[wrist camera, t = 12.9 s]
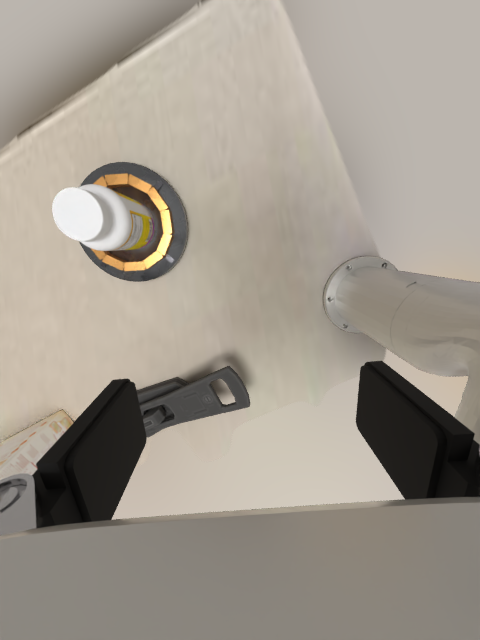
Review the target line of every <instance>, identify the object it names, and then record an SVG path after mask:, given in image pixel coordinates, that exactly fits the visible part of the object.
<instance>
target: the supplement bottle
mask: <svg viewBox="0 0 480 640" xmlns="http://www.w3.org/2000/svg"><path fill="white" fill-rule="evenodd" d="M52 213H53V218H54V221H55V223H56V224H57V226H58V228H59V229H60V230H61V231H62V232H63V233H64V234H65V235H66V236H68V237H70V238H72V239H74V240H77V241H80V242H81V243H82V244H84V245H85V246H87V247H89V248H92V249H94V250H99V251H114V250H135V249H141V248H143V247H145V246H146V245H148V244H149V243H150V242H151V240H152V238H153V236H154V233H155V223H154V219H153V216H152V214H151V213H150V211H149V210H148V209H147V208H146V207H145V206H144V205H143V204H141V203H140V202H138V201H136V200H133V199H131V198H129V197H127V196H125V195H122V194H120V193H118V192H115V191H113V190H111V189H109V188H107V187H104V186H101V185H96V184H88V185H83V186H80V187H78V188H77V187H69V188H65V189H63V190H61V191H60V192H59V193H58V194H57V195H56V197H55V198H54V201H53V205H52Z"/></svg>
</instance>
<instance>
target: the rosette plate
mask: <svg viewBox="0 0 480 640" xmlns="http://www.w3.org/2000/svg"><path fill="white" fill-rule="evenodd" d="M88 184H96V185H101V186H104V187H107V188H109V189H111V190H113V191H115V192H118V193H120V194H122V195H125V196H127V197H129V198H131V199H133V200H136V201H138V202H140V203H141V204H143V205H144V206H145V207H146V208H147V209H148V210H149V211H150V213H151V214H152V216H153V219H154V223H155V233H154V236H153V238H152V240H151V242H150V243H149V244H148V245H146V246H145V247H143V248H141V249H135V250H114V251H99V250H94V249H92V248H89V247H87V246H85V245H84V244H82V243H81V242H80V241H79V242H80V244H81V246H82V248H83V249H84V251H85V252H86V254H87V255H88V256H89V258H90V259H91V260H92V261H93V262H94V263H95V264H96V265H97V266H98V267H99V268H101V269H102V270H104V271H105V272H107V273H108V274H110V275H112V276H114V277H117V278H119V279H123V280H127V281H148V280H151V279H155V278H157V277H159V276H162V275H164V274H165V273H167V272H168V271H170V270H171V269H172V268H173V267H174V266H175V265H176V264H177V263H178V261H179V260H180V258H181V257H182V255H183V253H184V250H185V247H186V244H187V239H188V222H187V216H186V213H185V209H184V207H183V205H182V202H181V200H180V199H179V197H178V195H177V194H176V192H175V191H174V190H173V188H172V187H171V186H170V185H169V184H168V183H167V182H166V181H165V180H164V179H163V178H161V177H160V176H159V175H158V174H156V173H155V172H153V171H152V170H150V169H148V168H146V167H144V166H141V165H138V164H134V163H128V162H116V163H110V164H107V165H104V166H102V167H100V168H98V169H96V170H95V171H93V172H92V173H91V174H90V175H89V176H88V177H87V178H86V179H85V180H84V181H83V183H82V184H81V186H83V185H88Z"/></svg>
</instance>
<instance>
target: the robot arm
mask: <svg viewBox="0 0 480 640" xmlns="http://www.w3.org/2000/svg"><path fill="white" fill-rule="evenodd" d="M347 266H348V268H347V269H346V267H347ZM328 297H329V299H328ZM323 303H324V309H325V312H326V314H327V316H328V318H329V319H330V320H331V321H332V322H333V324H335V325H336V326H337V327H338V328H340V329H342V330H344V331H347V332H350V333H364V334H366V335H367V336H369V337H370V338H372V339H373V340H375V341H376V342H378V343H379V344H381V345H382V346H384V347H385V348H387V349H388V350H390V351H391V352H393V353H394V354H396V355H397V356H398V357H400V358H402V359H403V360H405V361H406V362H408V363H409V364H411V365H412V366H414V367H416V368H418V369H419V370H422V371H424V372H427V373H430V374H435V375H440V376H469V378H468V382H467V384H466V387H465V390H464V392H463V396H462V400H461V403H460V405H459V407H458V410H457V412H456V415H455V417H453V416H452V415H451V414H449V413H448V412H447V411H445V410H444V409H443V408H442V407H440V406H439V405H438V404H436V403H435V402H434V401H433V400H431V399H430V398H429V397H427V396H426V395H425V394H424V393H422V392H421V391H420V390H419V389H417V388H416V387H415V386H414V385H412V384H411V383H410V382H408V381H407V380H406V379H404V378H403V377H402V376H401V375H399V374H398V373H397V372H396V371H394V370H393V369H391V368H390V367H389V366H388V365H387V364H385V363H384V362H382V361H374V362H366V363H365V365H364V366H362V367H361V370H360V381H359V392H358V404H357V415H356V424H357V427H358V430H359V431H360V433H361V434H362V436H363V437H364V439H365V440H366V442H367V443H368V445H369V446H370V448H371V449H372V450H373V452H374V454H375V455H376V457H377V458H378V459H379V461H380V463H381V464H382V466H383V467H384V468H385V470H386V472H387V473H388V474H389V476H390V477H391V479H392V480H393V482H394V483H395V485H396V486H397V488H398V489H399V491H400V492H401V494H402V495H403V497H404V498H405V500H389V501H374V502H357V503H341V504H326V505H310V506H295V507H280V508H266V509H252V510H237V511H223V512H208V513H195V514H182V515H169V516H156V517H142V518H129V519H116V520H111V519H112V517H113V515H114V512H115V510H116V508H117V506H118V504H119V501H120V499H121V497H122V495H123V493H124V490H125V488H126V486H127V484H128V482H129V479H130V477H131V475H132V473H133V471H134V468H135V466H136V464H137V462H138V460H139V457H140V455H141V453H142V451H143V449H144V446H145V444H146V431H145V427H144V422H143V418H142V413H141V409H140V405H139V400H138V396H137V391H136V387H135V384H134V382H131V381H130V380H129V379H118V380H113V381H111V383H110V384H109V385H108V386H107V387H106V388H105V389H104V390H103V391H102V392H101V393H100V395H99V396H98V397H97V398H96V399H95V400H94V401H93V402H92V403H91V404H90V405H89V407H88V408H87V409H86V410H85V411H84V412H83V413H82V414H81V415H80V416H79V417H78V418H77V420H76V421H75V422H74V423H73V424H72V425H71V426H70V427H69V428H68V429H67V430H66V432H65V433H64V434H63V435H62V436H61V437H60V438H59V439H58V440H57V441H56V442H55V444H54V445H53V446H52V447H51V448H50V449H49V450H48V451H47V452H46V453H45V454H44V456H43V457H42V458H41V459H40V460H39V461H38V462H37V463H36V466H37V468H38V469H37V470H36V471H35V472H34V474H33V475H29V474H16V475H12V476H9V477H7V478H4V479H2V480H0V640H480V283H479V282H471V281H464V280H458V279H450V278H444V277H437V276H431V275H423V274H417V273H410V272H404V271H398V270H397V269H396V268H395V266H394V265H392V264H391V263H390V262H389V261H386V260H384V259H383V258H379V257H374V256H363V257H358V258H354V259H351V260H349V261H347V262H345V263H344V264H343V265H341V266H340V267H339V268H338V269H337V270H336V271H335V272H334V273H333V274H332V275H331V277H330V278H329V280H328V282H327V284H326V287H325V290H324V296H323ZM343 324H344V325H343Z"/></svg>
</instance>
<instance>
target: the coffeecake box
mask: <svg viewBox="0 0 480 640" xmlns="http://www.w3.org/2000/svg"><path fill="white" fill-rule="evenodd" d="M73 423H74V422H73V421H72V420H71V419H70V417H69V416H68V415H67V414H66V413H65V412H64V411H63V410H61V411H59V412H57V413H55V414H53V415H51V416H49V417H47V418H45V419H43V420H41V421H40V422H38V423H36V424H34V425H32V426H30V427H28V428H26V429H24V430H23V431H21V432H19V433H17V434H15V435H13V436H11V437H10V438H8V439H6V440H4V441H3V442H2V443H1V444H0V480H2V479H4V478H7V477H9V476H12V475H16V474H29V475H33V474H34V472H35V471H36V470H37V469H38V468H37V466H36V463H37V462H38V461H39V460H40V459H41V458H42V457H43V456H44V454H45V453H46V452H47V451H48V450H49V449H50V448H51V447H52V446H53V445H54V444H55V442H56V441H57V440H58V439H59V438H60V437H61V436H62V435H63V434H64V433H65V432H66V430H67V429H68V428H69V427H70V426H71V425H72V424H73Z"/></svg>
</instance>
